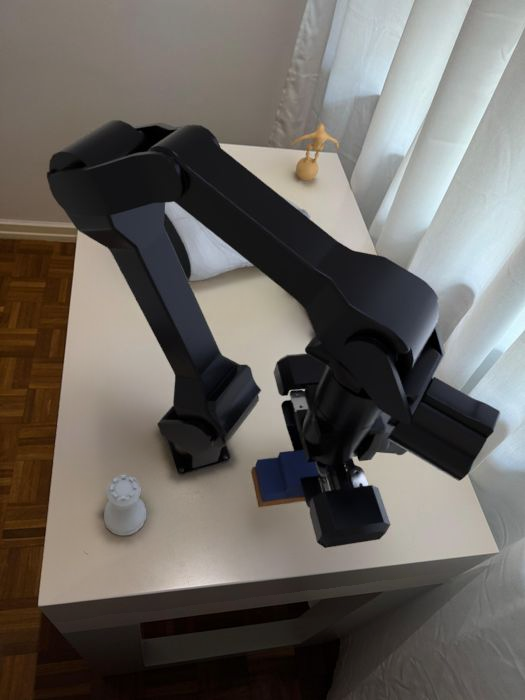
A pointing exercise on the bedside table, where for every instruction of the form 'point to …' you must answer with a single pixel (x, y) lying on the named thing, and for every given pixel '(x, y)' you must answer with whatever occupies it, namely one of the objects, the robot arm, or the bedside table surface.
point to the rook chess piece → (124, 506)
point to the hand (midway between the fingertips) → (306, 478)
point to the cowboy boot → (201, 245)
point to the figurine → (308, 165)
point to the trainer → (281, 478)
